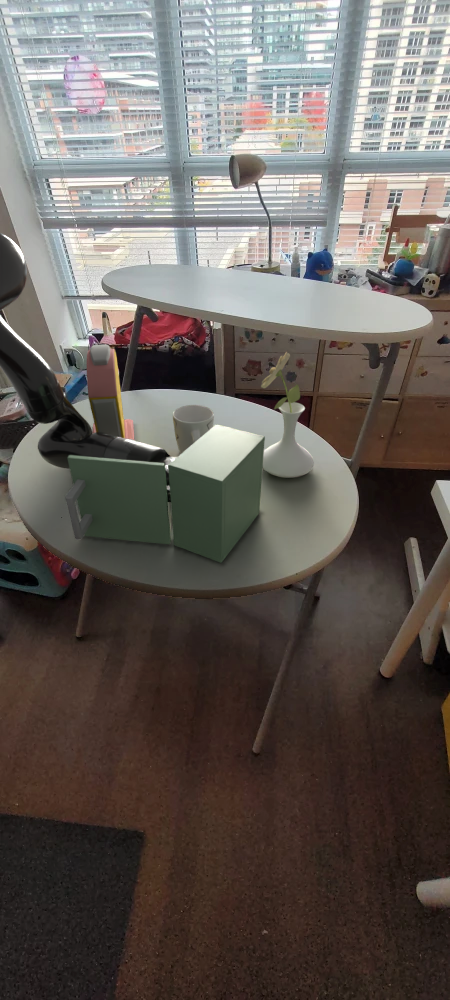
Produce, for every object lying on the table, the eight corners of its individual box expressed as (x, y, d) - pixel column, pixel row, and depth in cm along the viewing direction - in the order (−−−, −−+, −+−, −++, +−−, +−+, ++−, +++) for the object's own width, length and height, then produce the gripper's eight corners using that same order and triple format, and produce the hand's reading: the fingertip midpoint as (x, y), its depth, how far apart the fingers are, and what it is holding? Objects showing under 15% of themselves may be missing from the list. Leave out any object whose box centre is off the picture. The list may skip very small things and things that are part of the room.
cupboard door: (162, 566, 72) (154, 485, 62) (72, 556, 73) (52, 476, 64) (171, 541, 76) (164, 462, 67) (86, 533, 78) (69, 454, 69)
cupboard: (173, 545, 76) (167, 464, 67) (216, 499, 87) (216, 424, 77) (221, 563, 73) (222, 481, 63) (259, 513, 83) (265, 436, 74)
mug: (218, 471, 94) (218, 428, 88) (177, 474, 93) (175, 431, 87) (211, 444, 103) (210, 403, 97) (173, 447, 102) (171, 405, 96)
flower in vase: (284, 448, 102) (295, 335, 87) (324, 469, 95) (343, 350, 80) (241, 468, 95) (245, 349, 80) (281, 493, 88) (293, 367, 73)
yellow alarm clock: (94, 422, 111) (79, 332, 98) (133, 419, 113) (122, 330, 100) (91, 470, 94) (71, 368, 81) (136, 466, 95) (124, 366, 83)
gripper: (107, 463, 73) (199, 493, 67) (157, 427, 83) (241, 450, 77) (113, 500, 78) (200, 531, 71) (160, 462, 88) (240, 486, 82)
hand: (221, 489), depth 74 cm, fingers closed on chocolate box, 4 cm apart
